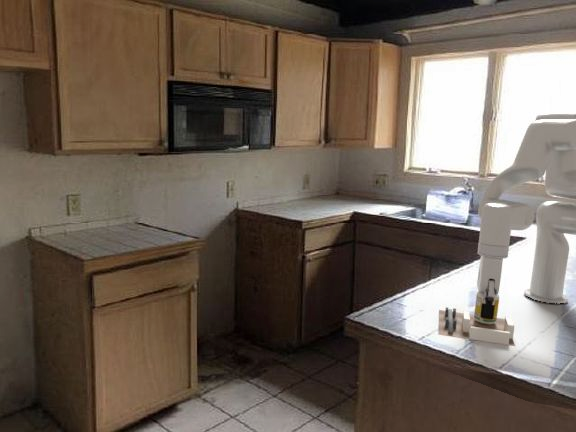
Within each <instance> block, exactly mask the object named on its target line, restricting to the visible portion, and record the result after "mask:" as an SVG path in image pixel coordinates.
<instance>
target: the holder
mask: <svg viewBox="0 0 576 432" xmlns="http://www.w3.org/2000/svg"><path fill="white" fill-rule="evenodd" d="M462 313H463V318H462V330H463V332H469V326H470V314H471V313H470V311H466V310H465V311H464V310H463V311H462ZM504 319H505V323H504V331H500V330H493V329H487V328H480V327H473V326H471V328H470V337H469V338H470V339H469V340H471V339H473V341H478V340H479V341H480V342H485V341H486V343H491V342H493V343H492V344H498V343H499V345H504V344H506V346H510V345H509V338H510V339H513V340H514V333H515V332H514V331H515V322H514V321H513V318H512V317H510V316H509V317H508V316H505V318H504Z"/></svg>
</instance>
